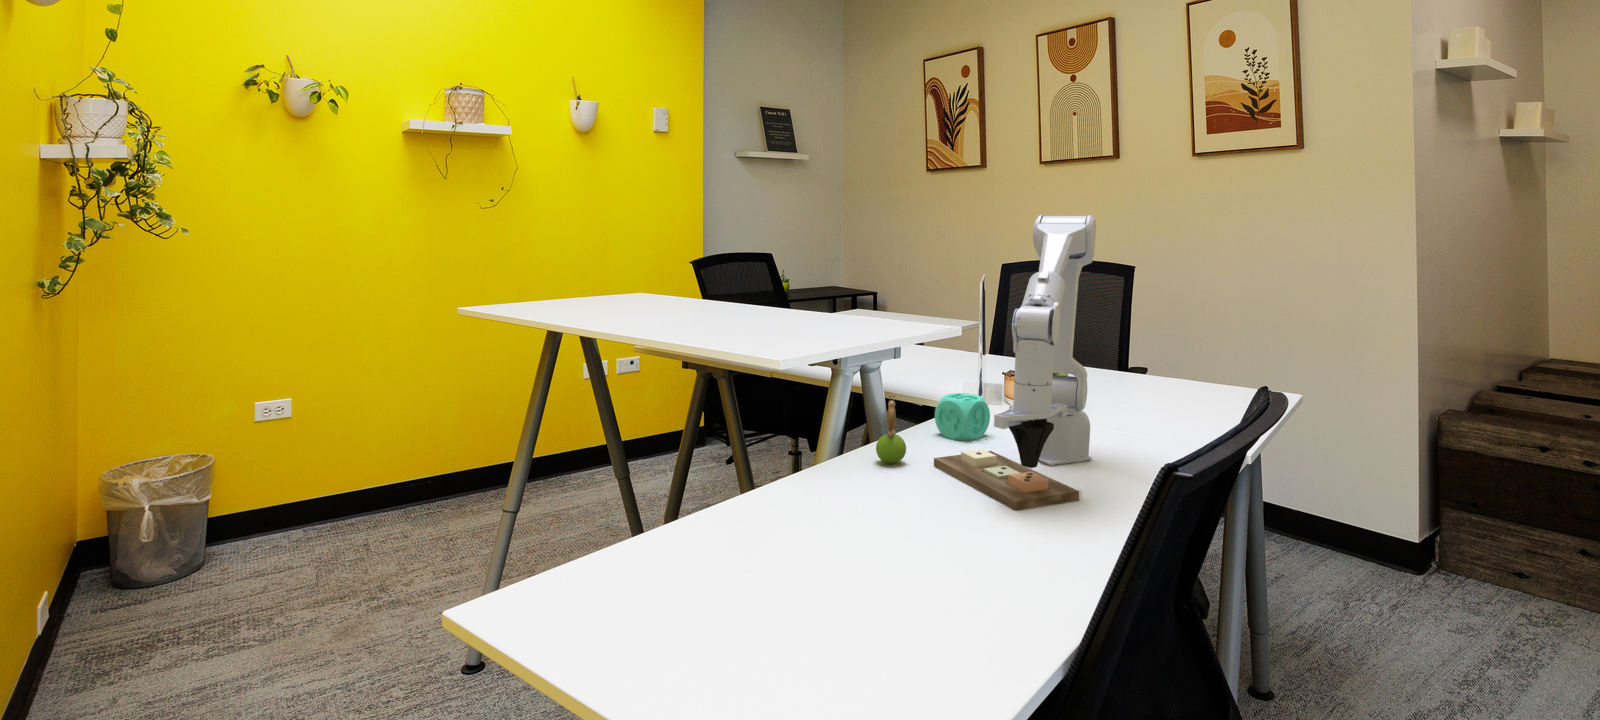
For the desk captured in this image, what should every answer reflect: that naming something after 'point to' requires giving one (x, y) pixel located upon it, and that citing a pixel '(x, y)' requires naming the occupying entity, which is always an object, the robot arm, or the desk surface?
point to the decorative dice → (962, 416)
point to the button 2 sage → (1000, 472)
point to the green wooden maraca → (891, 439)
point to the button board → (1006, 483)
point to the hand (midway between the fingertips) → (1028, 466)
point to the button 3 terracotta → (1028, 482)
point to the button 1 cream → (978, 458)
